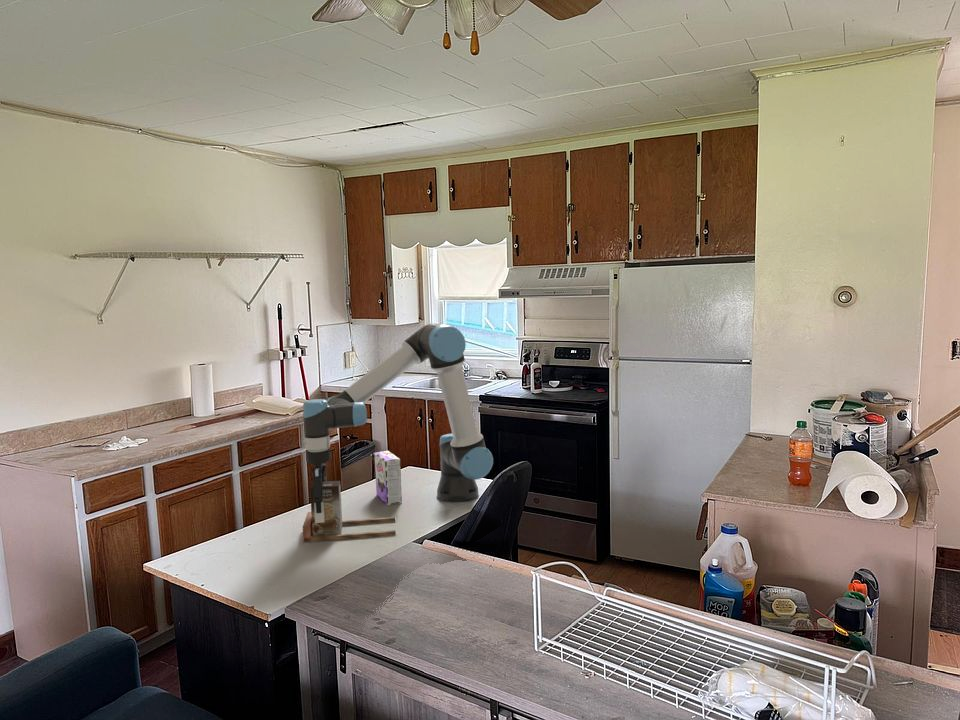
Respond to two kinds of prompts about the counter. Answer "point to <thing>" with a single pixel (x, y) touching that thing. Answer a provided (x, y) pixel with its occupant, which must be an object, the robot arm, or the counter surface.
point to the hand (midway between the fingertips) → (322, 515)
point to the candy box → (388, 477)
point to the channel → (308, 534)
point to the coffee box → (328, 510)
